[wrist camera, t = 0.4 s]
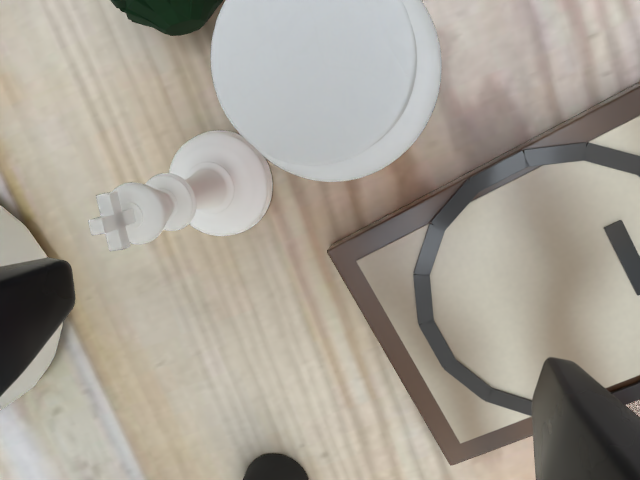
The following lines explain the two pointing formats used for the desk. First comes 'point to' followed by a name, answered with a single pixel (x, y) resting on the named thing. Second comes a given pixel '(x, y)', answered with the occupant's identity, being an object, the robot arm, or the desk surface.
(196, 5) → the grenade
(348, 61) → the pill bottle
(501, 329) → the board
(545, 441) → the robot arm
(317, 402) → the desk surface
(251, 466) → the dot
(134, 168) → the desk surface
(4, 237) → the can
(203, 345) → the desk surface
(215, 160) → the chess piece
